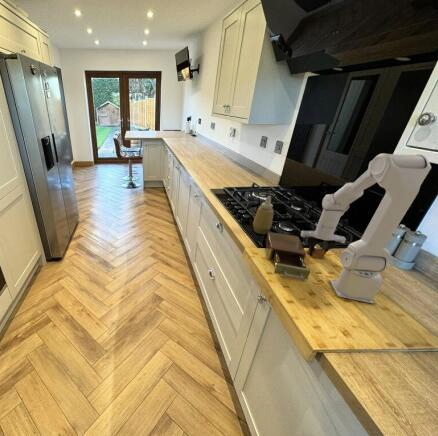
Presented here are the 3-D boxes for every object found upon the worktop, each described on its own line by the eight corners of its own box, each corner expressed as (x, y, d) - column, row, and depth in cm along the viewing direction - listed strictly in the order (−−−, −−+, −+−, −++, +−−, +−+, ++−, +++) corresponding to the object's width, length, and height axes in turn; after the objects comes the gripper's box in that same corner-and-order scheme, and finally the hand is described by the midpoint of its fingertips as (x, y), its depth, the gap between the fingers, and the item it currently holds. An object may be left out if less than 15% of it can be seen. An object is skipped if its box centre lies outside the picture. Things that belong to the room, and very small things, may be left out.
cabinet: (301, 266, 89) (306, 253, 87) (268, 260, 93) (272, 248, 90) (294, 247, 101) (298, 236, 99) (265, 242, 104) (268, 231, 102)
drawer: (310, 287, 78) (314, 278, 76) (275, 280, 81) (278, 272, 79) (299, 259, 92) (301, 251, 90) (270, 254, 95) (272, 246, 93)
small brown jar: (318, 252, 98) (321, 244, 97) (322, 258, 94) (325, 251, 92) (308, 250, 99) (311, 243, 98) (312, 256, 95) (315, 249, 93)
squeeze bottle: (270, 230, 115) (280, 195, 107) (268, 237, 108) (278, 201, 100) (253, 226, 118) (260, 192, 110) (249, 232, 112) (258, 197, 104)
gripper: (345, 223, 92) (332, 252, 98) (303, 217, 96) (293, 245, 102) (352, 231, 86) (339, 261, 92) (307, 225, 90) (297, 254, 96)
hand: (315, 254), depth 97 cm, fingers closed on small brown jar, 3 cm apart
